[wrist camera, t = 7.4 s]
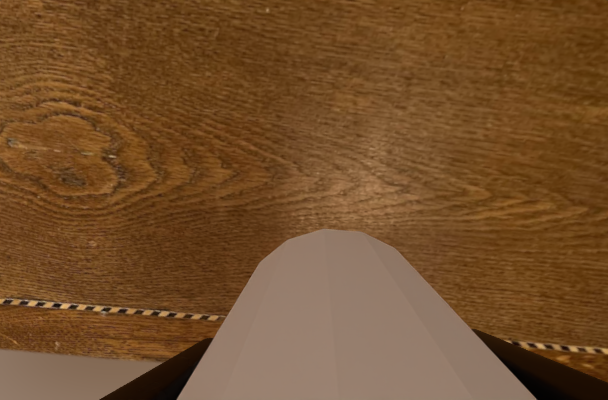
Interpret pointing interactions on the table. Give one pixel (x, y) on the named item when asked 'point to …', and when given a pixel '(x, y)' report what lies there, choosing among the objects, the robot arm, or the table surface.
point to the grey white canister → (346, 332)
